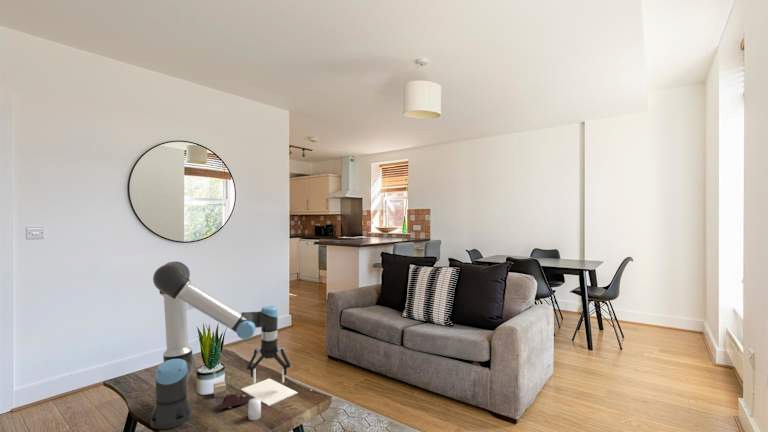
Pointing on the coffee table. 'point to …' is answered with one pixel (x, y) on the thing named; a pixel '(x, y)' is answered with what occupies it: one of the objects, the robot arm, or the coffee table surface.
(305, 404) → the coffee table surface
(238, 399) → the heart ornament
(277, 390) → the cream mat
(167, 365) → the robot arm
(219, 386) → the beech block
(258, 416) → the white cylinder
